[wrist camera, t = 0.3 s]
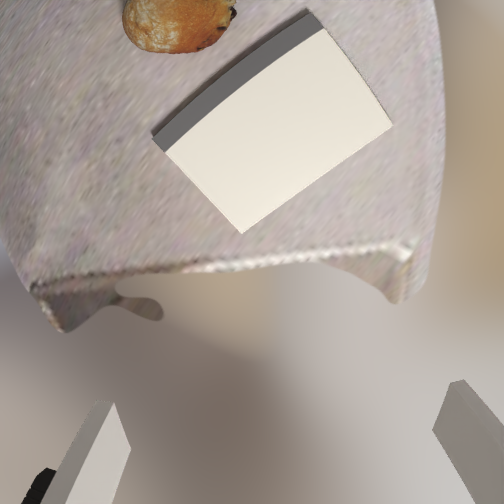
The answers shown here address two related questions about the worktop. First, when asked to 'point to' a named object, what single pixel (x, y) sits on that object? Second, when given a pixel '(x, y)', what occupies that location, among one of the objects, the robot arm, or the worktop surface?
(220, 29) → the bread roll
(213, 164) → the mat
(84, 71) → the worktop surface
